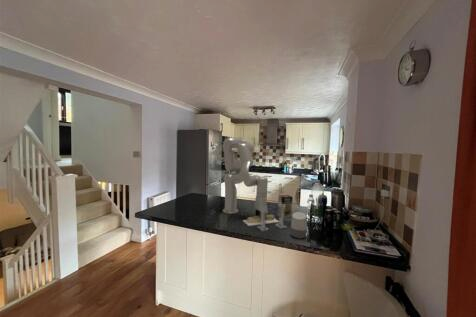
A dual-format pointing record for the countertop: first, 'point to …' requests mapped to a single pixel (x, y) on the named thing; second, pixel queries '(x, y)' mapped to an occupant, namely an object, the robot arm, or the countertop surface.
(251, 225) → the grey mat
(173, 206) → the countertop surface
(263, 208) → the metal standards
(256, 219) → the beech rail
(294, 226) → the smart speaker
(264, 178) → the robot arm
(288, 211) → the coffee box
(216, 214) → the countertop surface
